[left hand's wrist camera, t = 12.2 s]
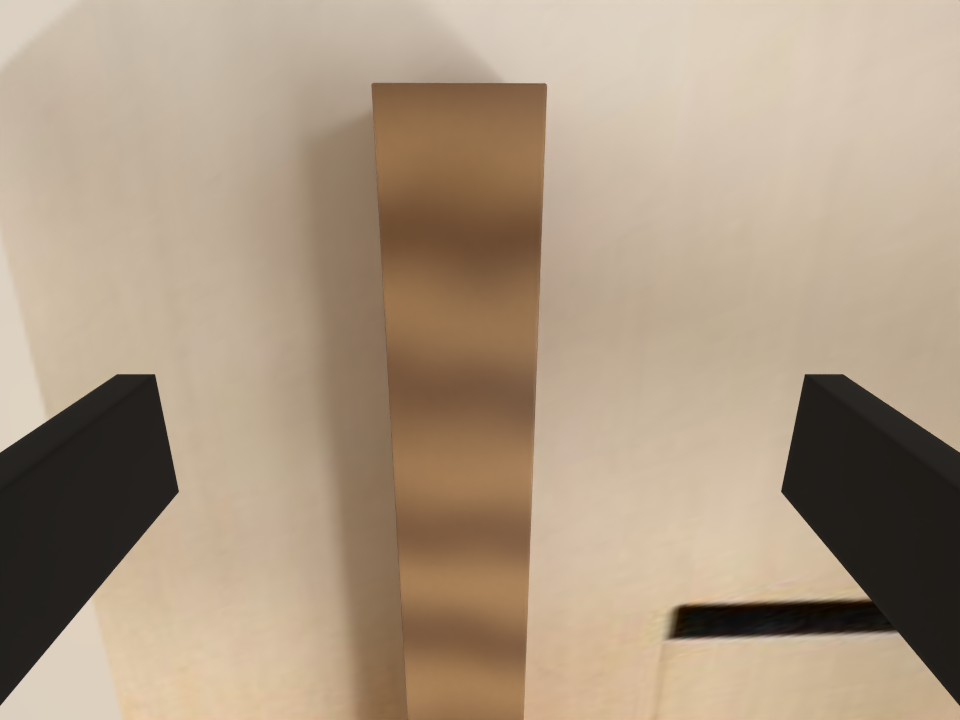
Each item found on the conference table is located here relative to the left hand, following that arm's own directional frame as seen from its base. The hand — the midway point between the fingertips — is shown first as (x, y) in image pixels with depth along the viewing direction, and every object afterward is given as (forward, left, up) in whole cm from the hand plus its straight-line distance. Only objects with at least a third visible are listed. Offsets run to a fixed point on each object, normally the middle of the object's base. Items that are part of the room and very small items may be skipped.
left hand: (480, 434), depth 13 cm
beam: (+25, +18, -16) cm, 35 cm away
